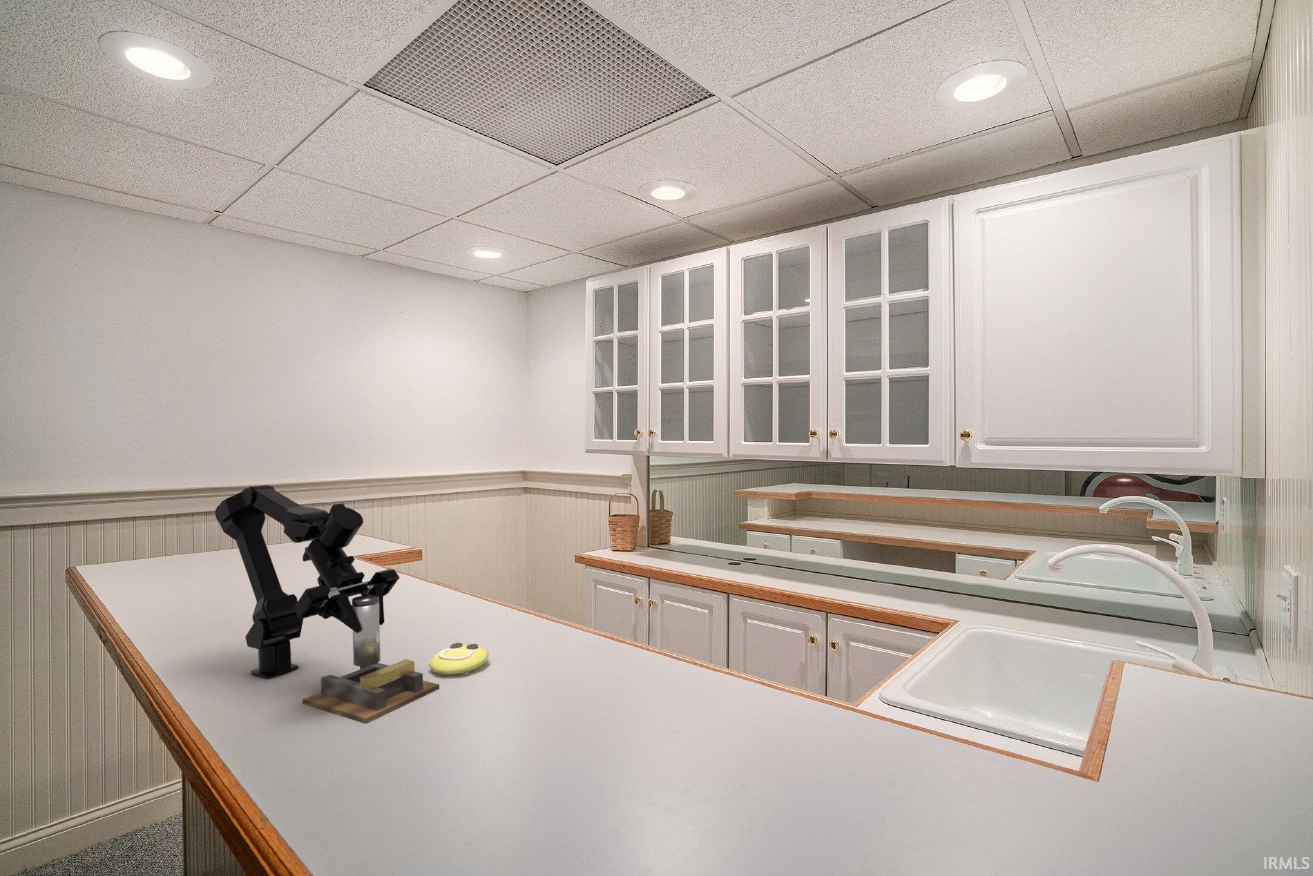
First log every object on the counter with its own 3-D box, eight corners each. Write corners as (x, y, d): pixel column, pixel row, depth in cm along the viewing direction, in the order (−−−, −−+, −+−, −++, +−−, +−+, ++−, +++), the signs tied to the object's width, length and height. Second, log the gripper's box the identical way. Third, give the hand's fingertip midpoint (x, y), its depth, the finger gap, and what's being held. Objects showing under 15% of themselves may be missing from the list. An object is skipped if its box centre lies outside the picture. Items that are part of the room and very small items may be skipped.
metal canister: (348, 666, 115) (346, 601, 115) (361, 657, 120) (360, 594, 120) (372, 666, 115) (371, 601, 115) (385, 657, 120) (383, 594, 119)
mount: (302, 703, 116) (301, 682, 116) (377, 673, 130) (377, 654, 130) (365, 723, 107) (365, 701, 107) (439, 688, 121) (438, 669, 121)
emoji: (471, 663, 125) (497, 639, 137) (416, 661, 127) (447, 637, 139) (472, 682, 125) (498, 656, 137) (418, 680, 127) (448, 654, 139)
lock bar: (360, 688, 112) (360, 677, 112) (406, 669, 121) (405, 659, 121) (369, 690, 111) (368, 679, 111) (414, 671, 120) (414, 661, 120)
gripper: (357, 579, 133) (393, 638, 128) (267, 601, 116) (304, 670, 111) (381, 544, 129) (419, 604, 124) (291, 562, 113) (331, 632, 107)
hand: (371, 627), depth 117 cm, fingers closed on metal canister, 5 cm apart
